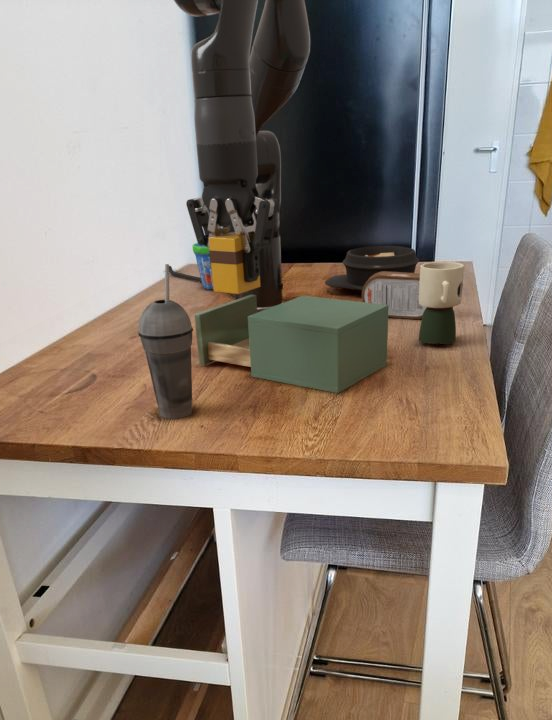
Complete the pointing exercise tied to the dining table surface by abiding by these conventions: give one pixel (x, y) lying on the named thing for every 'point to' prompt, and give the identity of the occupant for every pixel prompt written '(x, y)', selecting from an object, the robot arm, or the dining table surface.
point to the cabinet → (318, 342)
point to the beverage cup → (168, 353)
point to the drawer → (225, 332)
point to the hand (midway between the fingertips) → (236, 279)
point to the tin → (395, 293)
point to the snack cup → (204, 265)
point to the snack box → (229, 264)
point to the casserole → (373, 265)
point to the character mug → (439, 300)
